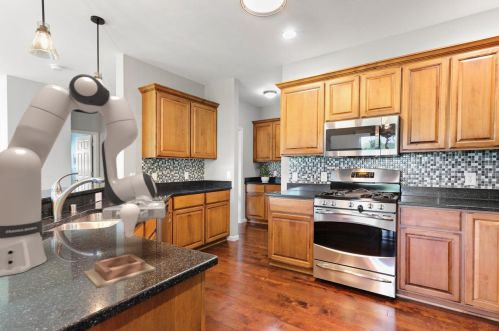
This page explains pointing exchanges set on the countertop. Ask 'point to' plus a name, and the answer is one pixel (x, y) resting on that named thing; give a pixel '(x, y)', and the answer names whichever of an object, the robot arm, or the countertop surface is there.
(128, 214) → the lightbulb
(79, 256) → the countertop surface
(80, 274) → the countertop surface
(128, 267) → the socket block
